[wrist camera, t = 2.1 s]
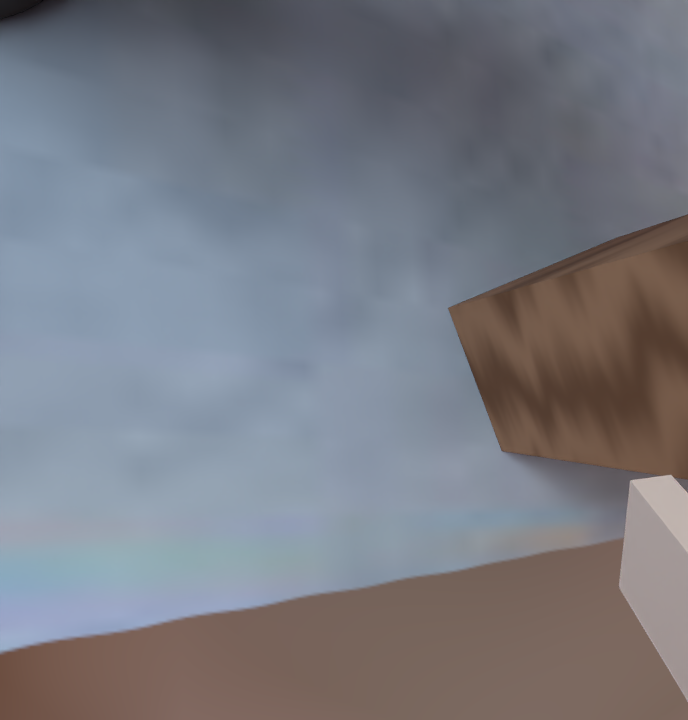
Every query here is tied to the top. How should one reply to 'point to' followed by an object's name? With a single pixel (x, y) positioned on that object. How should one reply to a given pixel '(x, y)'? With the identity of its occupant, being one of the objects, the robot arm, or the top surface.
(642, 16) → the top surface
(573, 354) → the walnut stand
